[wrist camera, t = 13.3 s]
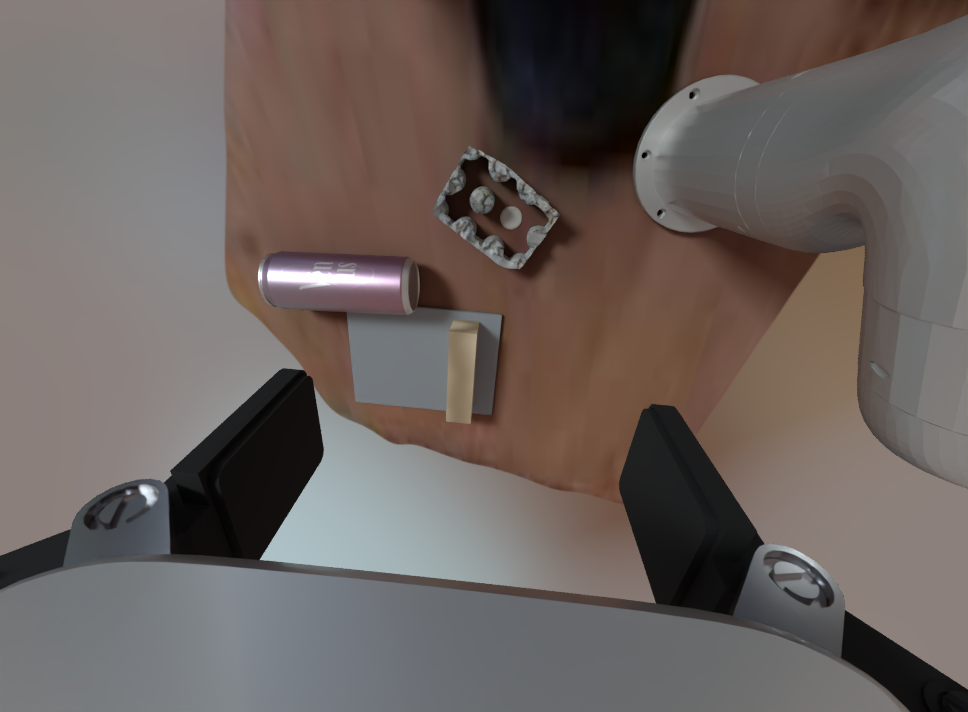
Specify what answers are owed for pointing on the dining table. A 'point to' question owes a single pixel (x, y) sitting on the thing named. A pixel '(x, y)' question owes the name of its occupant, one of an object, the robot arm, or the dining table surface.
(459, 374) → the block
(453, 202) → the dining table surface
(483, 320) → the mat
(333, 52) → the dining table surface
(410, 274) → the beverage can
